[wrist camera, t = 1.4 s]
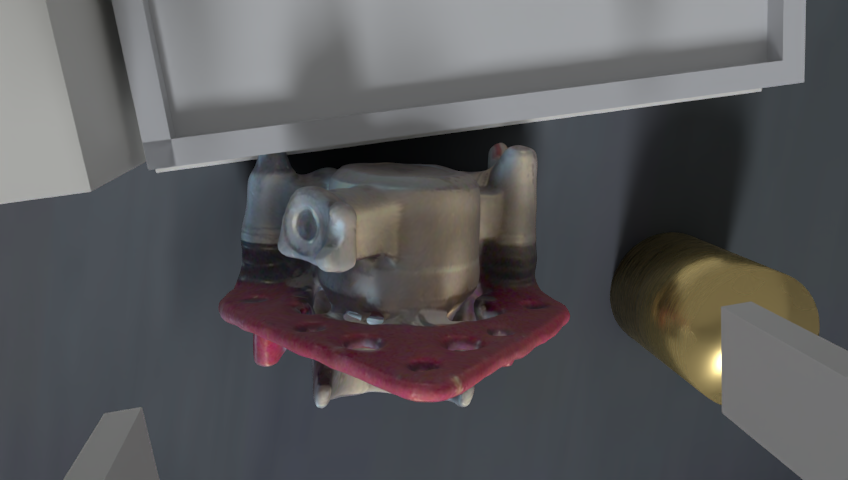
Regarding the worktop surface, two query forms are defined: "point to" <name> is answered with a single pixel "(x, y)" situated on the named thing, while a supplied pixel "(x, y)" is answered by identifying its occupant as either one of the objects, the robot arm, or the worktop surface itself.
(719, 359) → the brass spacer
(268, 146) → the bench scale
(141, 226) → the worktop surface
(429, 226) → the brake caliper
